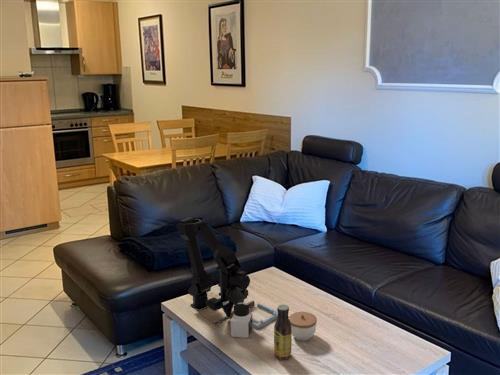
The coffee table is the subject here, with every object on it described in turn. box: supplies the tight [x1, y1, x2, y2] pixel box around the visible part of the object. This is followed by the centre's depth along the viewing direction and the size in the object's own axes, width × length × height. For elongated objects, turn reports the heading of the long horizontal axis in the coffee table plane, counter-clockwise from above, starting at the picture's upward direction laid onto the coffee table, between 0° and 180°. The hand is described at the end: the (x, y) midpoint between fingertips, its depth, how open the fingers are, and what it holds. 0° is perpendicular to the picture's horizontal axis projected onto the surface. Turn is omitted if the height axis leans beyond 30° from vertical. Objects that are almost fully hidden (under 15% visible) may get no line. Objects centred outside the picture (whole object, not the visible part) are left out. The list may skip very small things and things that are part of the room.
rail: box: [213, 301, 256, 325], centre depth 207 cm, size 1×23×1 cm, turn 136°
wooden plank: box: [229, 300, 255, 319], centre depth 207 cm, size 1×14×2 cm, turn 136°
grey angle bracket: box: [252, 302, 278, 330], centre depth 203 cm, size 12×14×2 cm
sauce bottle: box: [273, 304, 293, 361], centre depth 174 cm, size 6×6×20 cm
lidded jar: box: [288, 311, 318, 342], centre depth 187 cm, size 11×11×9 cm
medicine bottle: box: [230, 302, 254, 339], centre depth 191 cm, size 7×7×12 cm
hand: (228, 316), depth 202 cm, fingers closed
